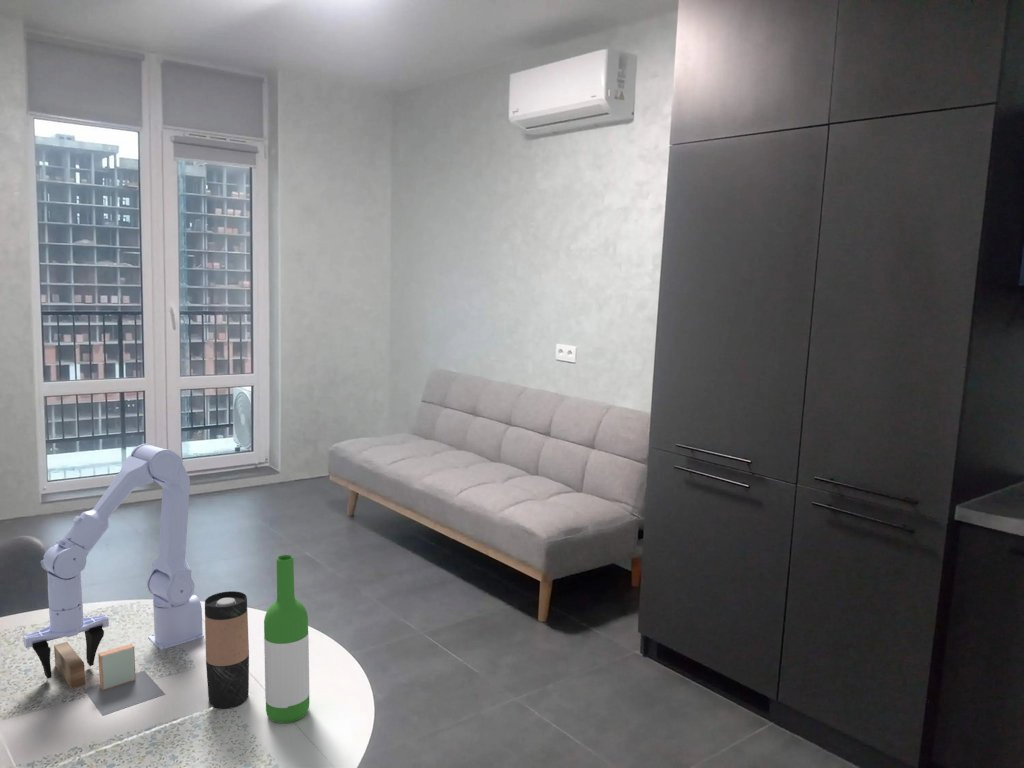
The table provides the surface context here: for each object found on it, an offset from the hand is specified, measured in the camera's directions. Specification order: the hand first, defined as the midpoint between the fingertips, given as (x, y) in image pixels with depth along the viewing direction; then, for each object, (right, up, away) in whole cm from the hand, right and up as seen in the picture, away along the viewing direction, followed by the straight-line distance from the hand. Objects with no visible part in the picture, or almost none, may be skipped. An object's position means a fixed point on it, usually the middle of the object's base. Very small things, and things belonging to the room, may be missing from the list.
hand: (69, 669), depth 151 cm
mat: (+14, -2, -6) cm, 15 cm away
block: (+11, -2, -3) cm, 12 cm away
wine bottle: (+47, -4, -11) cm, 49 cm away
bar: (0, -2, 0) cm, 2 cm away
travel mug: (+34, -3, -7) cm, 35 cm away
